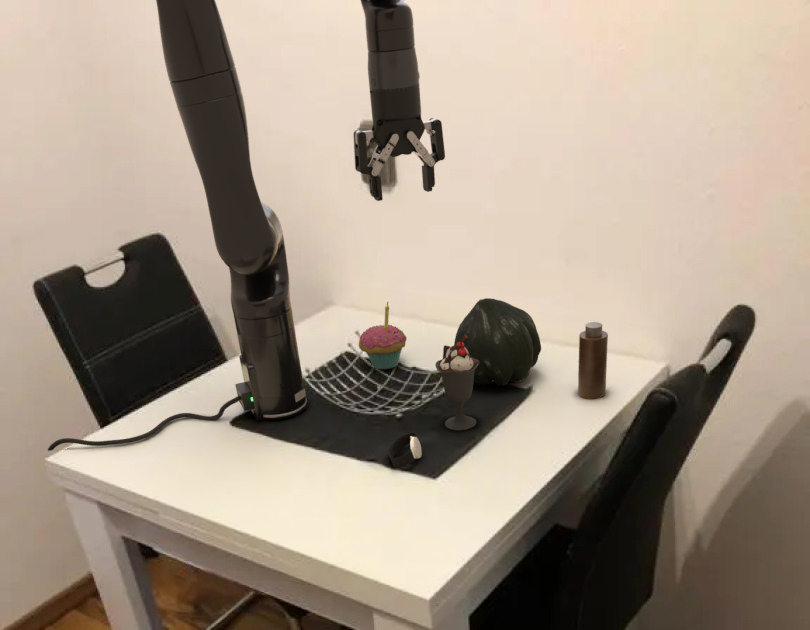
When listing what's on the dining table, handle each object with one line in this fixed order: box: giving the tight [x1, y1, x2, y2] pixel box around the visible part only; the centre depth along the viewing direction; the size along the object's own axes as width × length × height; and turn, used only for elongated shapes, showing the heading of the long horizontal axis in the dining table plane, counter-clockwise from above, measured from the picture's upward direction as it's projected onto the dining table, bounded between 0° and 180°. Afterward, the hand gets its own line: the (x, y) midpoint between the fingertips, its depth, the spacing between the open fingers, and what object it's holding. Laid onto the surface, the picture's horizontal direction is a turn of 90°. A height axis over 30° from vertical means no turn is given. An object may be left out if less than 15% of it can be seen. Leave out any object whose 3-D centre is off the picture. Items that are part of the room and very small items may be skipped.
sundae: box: [434, 335, 480, 432], centre depth 139 cm, size 7×7×15 cm
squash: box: [453, 297, 542, 387], centre depth 153 cm, size 14×15×15 cm
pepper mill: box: [577, 321, 609, 400], centre depth 145 cm, size 4×4×12 cm
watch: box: [388, 432, 422, 468], centre depth 134 cm, size 8×5×4 cm, turn 167°
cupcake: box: [358, 301, 407, 370], centre depth 162 cm, size 9×8×12 cm
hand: (403, 195), depth 145 cm, fingers open, 8 cm apart
